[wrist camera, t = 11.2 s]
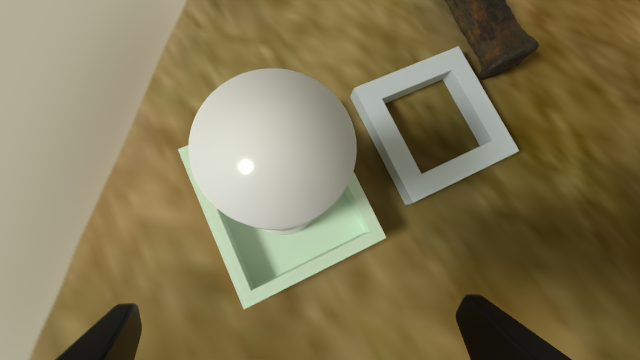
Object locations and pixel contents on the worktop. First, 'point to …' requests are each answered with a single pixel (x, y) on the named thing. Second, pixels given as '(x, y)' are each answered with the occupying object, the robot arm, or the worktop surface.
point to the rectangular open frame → (469, 102)
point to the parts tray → (289, 242)
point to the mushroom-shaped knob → (272, 149)
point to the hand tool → (492, 34)
